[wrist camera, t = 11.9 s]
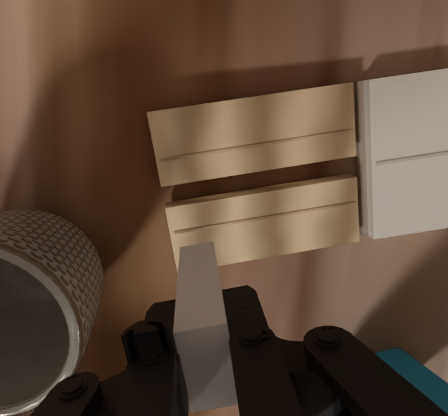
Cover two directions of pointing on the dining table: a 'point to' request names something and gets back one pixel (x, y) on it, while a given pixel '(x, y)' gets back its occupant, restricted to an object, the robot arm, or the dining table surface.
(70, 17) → the dining table surface
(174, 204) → the plank
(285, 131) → the plank
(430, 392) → the block
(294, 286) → the dining table surface
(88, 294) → the planter
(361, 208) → the floor board
